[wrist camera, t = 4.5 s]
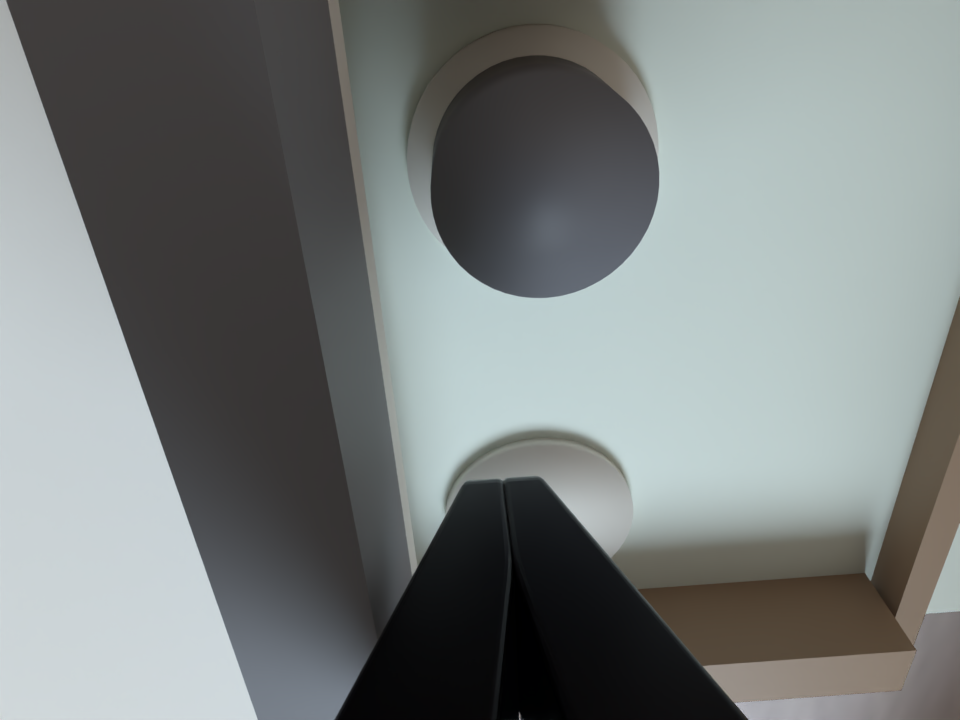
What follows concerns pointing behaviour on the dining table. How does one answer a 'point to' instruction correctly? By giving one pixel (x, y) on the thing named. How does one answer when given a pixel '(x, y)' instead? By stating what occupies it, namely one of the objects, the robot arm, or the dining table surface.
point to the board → (686, 301)
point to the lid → (189, 366)
